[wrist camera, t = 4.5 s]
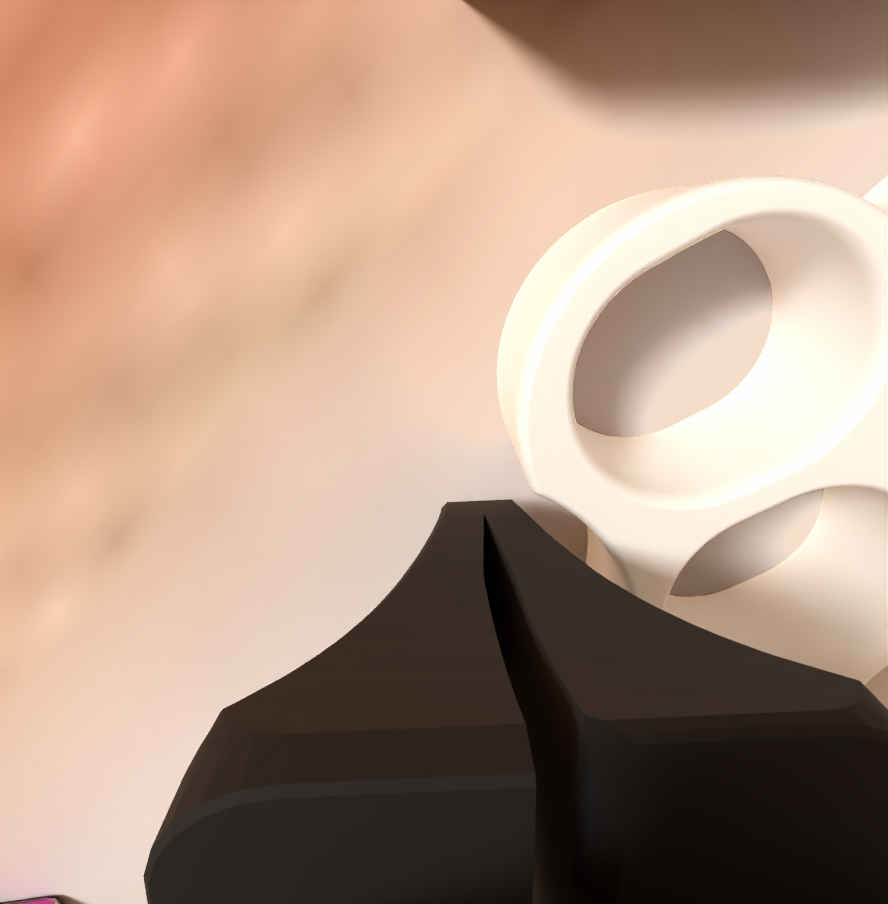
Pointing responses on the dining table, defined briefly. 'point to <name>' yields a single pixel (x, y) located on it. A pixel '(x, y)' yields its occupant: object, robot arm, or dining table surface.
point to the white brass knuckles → (729, 416)
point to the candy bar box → (38, 901)
